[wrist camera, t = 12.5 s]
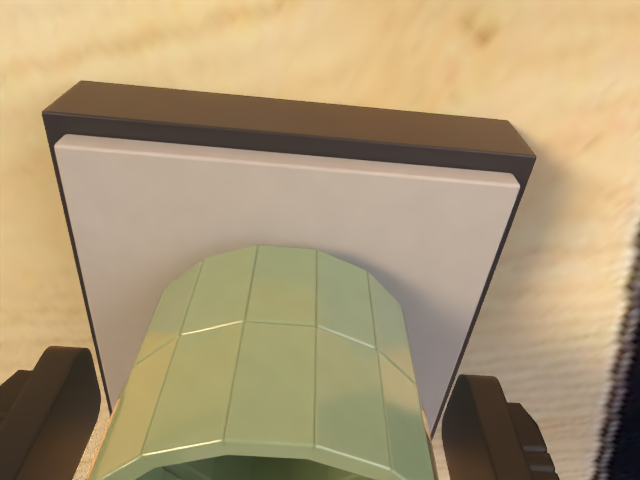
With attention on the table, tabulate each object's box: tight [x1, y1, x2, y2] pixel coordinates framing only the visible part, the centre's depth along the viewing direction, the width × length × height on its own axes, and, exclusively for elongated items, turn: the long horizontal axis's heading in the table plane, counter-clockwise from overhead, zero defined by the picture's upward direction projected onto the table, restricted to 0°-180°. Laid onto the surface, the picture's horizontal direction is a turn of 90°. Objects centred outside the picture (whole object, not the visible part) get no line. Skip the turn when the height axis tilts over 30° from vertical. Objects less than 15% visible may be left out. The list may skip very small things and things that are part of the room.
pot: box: [85, 245, 439, 480], centre depth 10 cm, size 6×6×5 cm
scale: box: [42, 81, 536, 441], centre depth 14 cm, size 10×10×3 cm
